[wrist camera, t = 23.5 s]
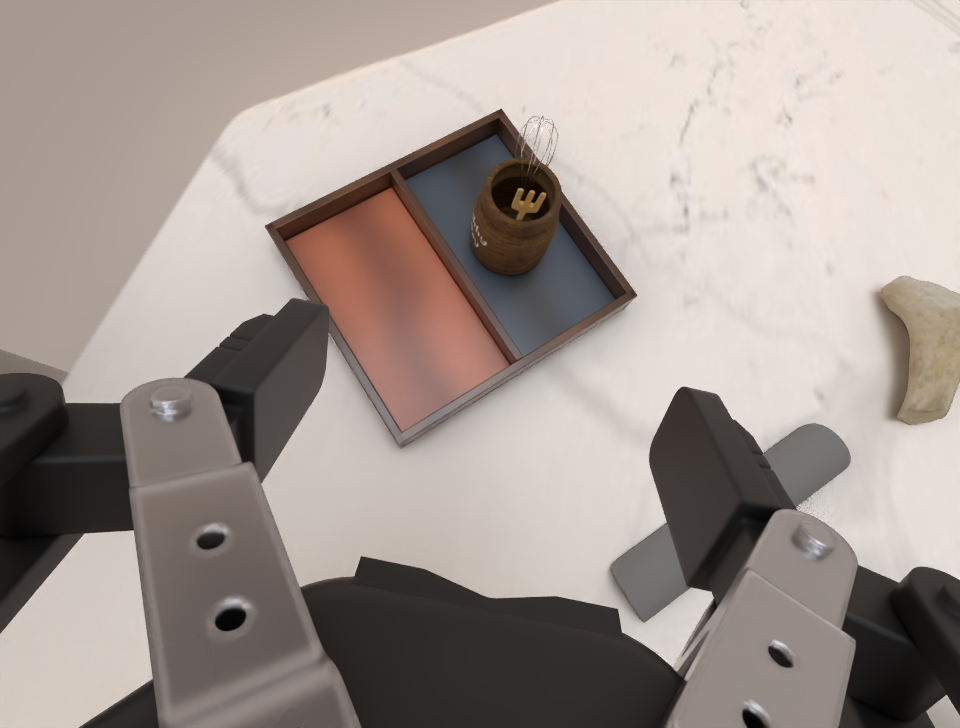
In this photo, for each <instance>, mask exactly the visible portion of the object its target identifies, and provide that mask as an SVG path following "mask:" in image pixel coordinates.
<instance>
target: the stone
mask: <svg viewBox="0 0 960 728" xmlns="http://www.w3.org/2000/svg"><path fill="white" fill-rule="evenodd" d="M881 295H882V299H883V300H884V301H885V303H886V305H887V307H888V309H890V310H891V311H892V312H893V313H894V314H896V315H897V316H899V317H900V318H901V319H902V321H903V322H904V323H905V325H906V327H907V330H908V333H909V338H910V356H909V379H908V387H907V393H906V396H905V399H904V401H903V404H902V406H901V408H900V411H899V413H898V415H897V417H896V418H897V419H899V420H902V421H903V422H906V423H908V424H919V423H926V422H931V421H934V420H937V419H942V418H943V417H945V416H946V414H947V413H948V411H949V409H950V406H951V404H952V401H953V398H954V395H955V392H956V389H957V386H958V384H959V382H960V294H958V293H956V292H953V291H950V290H949V289H947V288H945V287H942V286H940V285H938V284H934V283H931V282H926V281H919V280H916V279H913V278H911V277H909V276H901V277H898V278H896V279H895V280H893V281H892V282H890V283H889V284H887V285H886V286H885V287H884V288H883V290H882V292H881Z"/></svg>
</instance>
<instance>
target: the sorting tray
mask: <svg viewBox="0 0 960 728" xmlns="http://www.w3.org/2000/svg"><path fill="white" fill-rule="evenodd" d="M518 138H519V140H518ZM522 140H523V144H522ZM517 141H518V144H517ZM524 143H525V145H524ZM516 145H517V149H516ZM523 146H524V148H523ZM521 147H522V149H523V152H522V157H524V158H530V159H531V156H532V159H535V160H536V161H539V160H538V158H537V157H536V158H535V154H534V153H533V155H532V152H533V151H532V150H531V149H530V147H529V146H528V145H527V143H526V142H525V140H524V139H523V138H522V136H521V135H520V137H519V132H518V131H517V129H516V128H515V127H514V125H513V124H512V123H511V121H510V120H509V119H508V117H507V116H506V114H505V113H504V112H503V110H502V109H500V110H498V111H496V112H494V113H492V114H490V115H488V116H486V117H484V118H482V119H480V120H478V121H476V122H474V123H472V124H469V125H467V126H465V127H463V128H461V129H459V130H457V131H455V132H453V133H451V134H449V135H447V136H445V137H443V138H441V139H439V140H437V141H435V142H433V143H431V144H429V145H427V146H425V147H423V148H421V149H419V150H417V151H415V152H413V153H411V154H409V155H407V156H405V157H403V158H401V159H399V160H397V161H395V162H393V163H391V164H389V165H387V166H385V167H383V168H381V169H379V170H377V171H375V172H373V173H371V174H369V175H366V176H364V177H362V178H360V179H358V180H356V181H354V182H352V183H350V184H348V185H346V186H344V187H342V188H340V189H338V190H336V191H334V192H332V193H330V194H328V195H326V196H324V197H322V198H320V199H318V200H316V201H314V202H312V203H310V204H308V205H306V206H304V207H302V208H300V209H298V210H296V211H294V212H292V213H290V214H288V215H286V216H284V217H282V218H280V219H278V220H276V221H274V222H272V223H270V224H268V225H265V228H266V229H267V231H268V233H269V234H270V236H271V238H272V239H273V241H274V242H275V244H276V246H277V247H278V249H279V251H280V252H281V254H282V256H283V257H284V259H285V260H286V262H287V264H288V265H289V267H290V269H291V270H292V272H293V274H294V275H295V277H296V278H297V280H298V282H299V283H300V285H301V287H302V288H303V290H304V292H305V293H306V295H307V296H308V298H309V300H310V301H311V302H314V303H319V304H323V305H327V306H328V307H329V330H328V331H329V332H330V334H331V336H332V337H333V339H334V341H335V342H336V344H337V346H338V347H339V349H340V350H341V352H342V354H343V355H344V357H345V359H346V360H347V362H348V364H349V365H350V367H351V368H352V370H353V372H354V373H355V375H356V377H357V378H358V380H359V382H360V383H361V385H362V386H363V388H364V390H365V391H366V393H367V395H368V396H369V398H370V400H371V401H372V403H373V404H374V406H375V408H376V409H377V411H378V413H379V414H380V416H381V418H382V419H383V421H384V423H385V424H386V426H387V427H388V429H389V431H390V432H391V434H392V436H393V437H394V439H395V441H396V442H397V444H398V445H399V447H400V448H402V447H404V446H405V445H407V444H408V443H410V442H412V441H413V440H415V439H416V438H418V437H420V436H421V435H423V434H424V433H426V432H428V431H429V430H431V429H432V428H434V427H436V426H437V425H439V424H440V423H442V422H444V421H445V420H447V419H448V418H450V417H451V416H453V415H455V414H456V413H458V412H459V411H461V410H463V409H464V408H466V407H467V406H469V405H471V404H472V403H474V402H475V401H477V400H479V399H480V398H482V397H483V396H485V395H487V394H488V393H490V392H491V391H493V390H495V389H496V388H498V387H499V386H501V385H502V384H504V383H506V382H507V381H509V380H510V379H512V378H514V377H515V376H517V375H518V374H520V373H522V372H523V371H525V370H526V369H528V368H530V367H531V366H533V365H534V364H536V363H538V362H539V361H541V360H542V359H544V358H546V357H547V356H549V355H550V354H552V353H553V352H555V351H557V350H558V349H560V348H561V347H563V346H565V345H566V344H568V343H569V342H571V341H573V340H574V339H576V338H577V337H579V336H581V335H582V334H584V333H585V332H587V331H589V330H590V329H592V328H593V327H595V326H597V325H598V324H600V323H601V322H603V321H604V320H606V319H608V318H609V317H611V316H612V315H614V314H616V313H617V312H619V311H620V310H622V309H624V308H625V307H626V306H627V305H628V304H629V303H630V302H631V301H632V300H633V299H634V298H636V297H637V294H636V293H635V291H634V290H633V289H632V287H631V286H630V284H629V283H628V282H627V280H626V279H625V278H624V276H623V275H622V273H621V272H620V271H619V269H618V268H617V267H616V265H615V264H614V263H613V261H612V260H611V258H610V257H609V256H608V254H607V253H606V252H605V250H604V249H603V247H602V246H601V245H600V243H599V242H598V241H597V239H596V238H595V236H594V235H593V234H592V232H591V231H590V230H589V228H588V227H587V225H586V224H585V223H584V221H583V220H582V219H581V217H580V216H579V215H578V213H577V212H576V210H575V209H574V208H573V206H572V205H571V204H570V202H569V201H568V199H567V198H566V197H565V195H564V194H563V193H562V200H561V207H560V211H559V220H558V225H557V228H556V231H555V234H554V236H553V238H552V240H551V242H550V244H549V246H548V248H547V250H546V252H545V254H544V256H543V257H542V259H541V260H540V261H539V262H538V263H537V265H535V266H534V267H533V268H532V269H530V270H528V271H526V272H524V273H521V274H517V275H503V274H499V273H496V272H493V271H491V270H489V269H488V268H486V267H485V266H484V265H483V264H482V263H481V262H480V261H479V260H478V259H477V257H476V256H475V254H474V252H473V250H472V246H471V242H470V228H471V221H472V214H473V209H474V205H475V201H476V198H477V196H478V194H479V192H480V190H481V189H482V187H483V184H484V182H485V179H486V178H487V176H488V174H489V173H490V171H491V170H492V169H493V168H494V167H495V166H496V165H497V164H499V163H500V162H502V161H504V160H507V159H510V158H515V151H516V157H521ZM539 162H540V161H539Z"/></svg>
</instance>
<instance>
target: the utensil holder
mask: <svg viewBox="0 0 960 728" xmlns="http://www.w3.org/2000/svg"><path fill="white" fill-rule="evenodd" d="M533 117H538V116H533ZM533 117H531V118H533ZM531 118H530V119H531ZM538 118H540V117H538ZM542 118H543V120H542ZM542 118H540V119H541V120H533V121H541V122H544V123H545V122H547V121H545V120H551V121H552V122H553V120H552V119H545V120H544V115H543V116H542ZM530 119H529V120H530ZM529 120H528V122H527V124H528V123H530V122H532V121H530V122H529ZM541 122H539V123H540V124H541ZM539 123H538V124H539ZM548 123H550V122H548ZM527 124H525V125H524V126H523V128H524V127H525V126H526V127H527ZM538 124H537V125H538ZM545 124H546V123H545ZM550 124H551V123H550ZM537 125H536V126H537ZM546 125H547V124H546ZM551 125H553V129H554V128H555V129H556V127H555V126H554V122H553V124H551ZM536 126H535V127H536ZM535 127H534V128H535ZM547 127H548V125H547ZM523 128H522V129H523ZM534 128H533V129H534ZM539 128H540V125H539ZM522 129H521V131H522ZM533 129H532V130H533ZM542 129H543V124H542ZM548 129H549V127H548ZM532 130H531V131H532ZM521 131H520V134H521ZM525 131H526V128H525ZM531 131H530V133H531ZM538 131H539V129H538ZM549 131H550V129H549ZM556 131H557V129H556ZM530 133H529V134H530ZM552 133H553V130H552ZM520 134H519V137H520ZM524 134H525V132H524ZM529 134H528V136H529ZM541 134H542V130H541ZM537 135H538V132H537ZM550 135H551V137H550V140H551V149H552V134H551V132H550ZM528 136H527V137H528ZM557 136H558V132H557ZM523 139H524V135H523ZM526 139H527V138H526ZM536 139H537V136H536ZM540 139H541V135H540ZM518 140H519V138H518ZM525 142H526V140H525ZM557 142H558V137H557ZM557 142H556V145H557ZM535 143H536V140H535ZM539 143H540V140H539ZM549 143H550V141H549ZM517 144H518V141H517ZM522 144H523V140H522ZM524 145H525V143H524ZM534 146H535V144H534ZM548 146H549V144H548ZM538 147H539V144H538ZM523 148H524V146H523ZM516 149H517V145H516ZM547 149H548V147H547ZM547 149H546V151H547ZM555 149H556V146H555ZM533 151H534V148H533ZM537 151H538V148H537ZM522 152H523V149H522V147H521V157H516V151H515V158H510V159H507V160H504V161H502V162H500V163H499V164H497V165H496V166H495V167H494V168H493V169H492V170H491V171H490V173H489V174H488V176H487V178H486V179H485V182H484V184H483V187H482V189H481V190H480V192H479V194H478V196H477V198H476V201H475V205H474V209H473V214H472V221H471V228H470V242H471V246H472V250H473V252H474V254H475V256H476V257H477V259H478V260H479V261H480V262H481V263H482V264H483V265H484V266H485V267H486V268H488V269H489V270H491V271H493V272H496V273H499V274H503V275H517V274H521V273H524V272H526V271H528V270H530V269H532V268H533V267H534V266H535V265H537V263H538V262H539V261H540V260H541V259H542V257H543V256H544V254H545V252H546V250H547V248H548V246H549V244H550V242H551V240H552V238H553V236H554V234H555V231H556V228H557V225H558V220H559V211H560V207H561V200H562V191H561V186H560V183H559V181H558V179H557V177H556V176H555V174H554V173H553V172H552V171H551V170H550V169H549V168H548V167H547V166H548V165H549V163H550V162H551V160H552V158H553V156H552V158H551V160H550V162H549V163H548V161H547V163H548V165H547V164H546V166H545V165H544V164H542V163H541V162H539V161H536V160H535V159H532V156H531V159H530V158H524V157H522ZM554 152H555V150H554ZM545 153H546V152H545ZM550 153H551V150H550ZM550 153H549V156H550ZM532 155H533V152H532ZM536 155H537V152H536ZM553 155H554V153H553ZM544 156H545V154H544ZM544 156H543V158H544ZM535 158H536V156H535ZM543 158H542V159H543ZM548 160H549V157H548ZM541 161H542V160H541Z"/></svg>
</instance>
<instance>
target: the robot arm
mask: <svg viewBox="0 0 960 728" xmlns="http://www.w3.org/2000/svg"><path fill="white" fill-rule="evenodd" d="M328 330H329V307H328V306H327V305H323V304H319V303H314V302H310V301H305V300H301V299H297V298H292V299H291V300H290V301H289V302H288V303H287V304H286V305H285V306H284V307H283V308H282V309H281V310H280V311H279V312H278V313H277V314H276V315H275V316H272V315H267V314H262V315H260V316H257V317H255V318H252V319H250V320H247V321H245V322H243V323H242V324H241V325H240V326H239V327H238V328H236V329H235V330H234V331H233V332H232V333H231V334H230V337H227V338H226V339H225V340H224V341H222V342H221V343H220V346H219V347H216V348H215V349H214V350H213V351H212V352H211V353H210V354H208V355H207V356H206V357H205V358H204V359H203V360H202V361H201V362H200V363H199V364H198V365H197V366H196V367H194V368H193V369H192V370H191V371H190V372H189V373H188V374H187V375H186V376H185V377H184V378H167V379H160V380H156V381H152V382H148V383H146V384H143V385H141V386H139V387H137V388H135V389H133V390H132V391H130V392H129V393H128V394H127V395H126V396H125V397H124V398H123V400H122V401H121V403H113V404H109V403H66V402H65V398H64V394H63V389H62V387H61V385H60V384H59V383H58V382H57V381H55V380H54V379H52V378H49V377H47V376H43V375H38V374H31V373H11V374H2V375H0V633H1V632H2V631H3V630H4V629H5V627H6V626H7V625H8V624H9V623H10V621H11V620H12V619H13V618H14V617H15V615H16V614H17V613H18V612H19V611H20V609H21V608H22V607H23V606H24V605H25V604H26V602H27V601H28V600H29V599H30V598H31V596H32V595H33V594H34V593H35V592H36V590H37V589H38V588H39V587H40V586H41V584H42V583H43V582H44V581H45V580H46V578H47V577H48V576H49V575H50V574H51V573H52V571H53V570H54V569H55V568H56V567H57V565H58V564H59V563H60V562H61V561H62V559H63V558H64V557H65V556H66V555H67V553H68V552H69V551H70V550H71V549H72V548H73V546H74V545H75V544H76V543H77V542H78V540H79V539H80V538H81V537H82V536H83V534H84V533H98V532H114V531H131V530H134V534H135V542H136V550H137V558H138V565H139V573H140V581H141V589H142V597H143V604H144V612H145V620H146V628H147V636H148V643H149V651H150V659H151V667H152V675H153V679H152V680H151V681H149V682H148V683H146V684H144V685H143V686H141V687H140V688H138V689H137V690H135V691H134V692H132V693H131V694H129V695H128V696H126V697H125V698H123V699H122V700H120V701H118V702H117V703H115V704H114V705H112V706H111V707H109V708H108V709H106V710H105V711H103V712H102V713H100V714H99V715H97V716H96V717H94V718H93V719H91V720H89V721H88V722H86V723H85V724H83V725H82V726H80V727H79V728H838V726H839V724H840V727H841V728H935V727H934V725H933V723H932V722H931V720H930V718H929V716H928V715H927V713H926V710H928V709H929V708H930V707H931V706H933V705H934V704H935V703H936V702H938V701H939V700H940V699H941V698H943V697H944V696H945V695H946V694H947V695H948V697H949V699H950V700H951V702H952V704H953V705H954V707H955V708H956V710H957V712H958V713H959V715H960V580H958V579H957V578H955V577H953V576H951V575H949V574H947V573H944V572H942V571H939V570H936V569H933V568H928V567H916V568H914V569H912V570H911V571H910V572H909V574H908V575H907V576H906V577H905V578H904V579H903V580H902V581H901V582H900V583H898V582H896V581H894V580H891V579H889V578H887V577H884V576H882V575H880V574H878V573H875V572H873V571H871V570H869V569H866V568H864V567H862V566H859V565H858V561H857V557H856V555H855V553H854V551H853V550H852V548H851V546H850V545H849V544H848V543H847V541H846V540H845V539H844V538H843V537H842V536H841V535H840V534H838V533H837V532H836V531H835V530H834V529H832V528H831V527H830V526H828V525H827V524H825V523H824V522H822V521H821V520H819V519H817V518H815V517H813V516H811V515H809V514H806V513H803V512H801V511H797V509H796V507H795V506H794V504H793V502H792V501H791V499H790V497H789V496H788V494H787V492H786V491H785V489H784V487H783V486H782V484H781V482H780V481H779V479H778V477H777V476H776V474H775V472H774V471H773V470H771V466H770V464H769V462H768V461H767V459H766V457H765V456H762V454H763V452H762V451H761V449H760V447H759V446H758V444H757V442H756V441H755V439H754V438H753V436H752V435H751V434H750V433H749V432H748V431H746V430H745V429H744V428H743V427H742V426H741V425H740V424H739V423H738V422H737V421H736V420H733V419H732V418H731V416H730V415H729V413H728V411H727V409H726V408H725V406H724V404H723V402H722V401H721V399H720V397H719V396H718V395H717V394H715V393H710V392H706V391H701V390H697V389H692V388H688V387H681V388H680V389H679V390H678V391H677V392H676V394H675V395H674V397H673V399H672V401H671V403H670V406H669V408H668V410H667V412H666V414H665V416H664V418H663V420H662V422H661V424H660V426H659V428H658V430H657V432H656V434H655V436H654V438H653V441H652V444H651V447H650V454H649V463H650V468H651V471H652V475H653V478H654V481H655V484H656V488H657V491H658V494H659V498H660V501H661V504H662V507H663V511H664V514H665V517H666V521H667V524H668V527H669V530H670V534H671V537H672V540H673V543H674V547H675V550H676V553H677V557H678V560H679V563H680V566H681V570H682V573H683V576H684V580H685V583H686V586H687V587H692V588H697V589H702V590H706V591H711V592H712V594H713V597H714V599H713V600H712V602H711V603H710V605H709V606H708V608H707V609H706V611H705V612H704V614H703V616H702V617H701V619H700V621H699V623H698V624H697V626H696V628H695V630H694V631H693V633H692V635H691V637H690V638H689V640H688V642H687V644H686V645H685V647H684V649H683V650H682V652H681V654H680V656H679V657H678V659H677V661H676V663H675V664H674V666H673V668H672V667H671V666H670V665H669V664H668V663H667V662H666V661H664V660H663V659H662V658H661V657H660V656H659V655H657V654H656V653H655V652H653V651H652V650H650V649H649V648H648V647H646V646H645V645H643V644H642V643H640V642H638V641H637V640H635V639H633V638H631V637H630V636H628V635H626V634H624V633H622V631H621V625H620V619H619V613H618V609H615V608H610V607H605V606H600V605H595V604H591V603H586V602H581V601H576V600H571V599H566V598H561V597H557V596H551V597H525V598H498V599H496V598H488V597H485V596H482V595H480V594H478V593H476V592H474V591H472V590H469V589H467V588H465V587H463V586H461V585H458V584H456V583H454V582H452V581H450V580H447V579H445V578H443V577H441V576H439V575H436V574H434V573H432V572H430V571H428V570H425V569H421V568H416V567H411V566H406V565H401V564H397V563H392V562H387V561H382V560H377V559H372V558H367V557H363V556H361V558H360V561H359V564H358V567H357V570H356V573H355V576H354V577H340V578H333V579H326V580H322V581H319V582H315V583H311V584H308V585H305V586H303V587H299V584H298V582H297V579H296V576H295V574H294V571H293V568H292V566H291V563H290V560H289V558H288V555H287V552H286V550H285V547H284V544H283V542H282V539H281V536H280V534H279V531H278V528H277V525H276V523H275V520H274V517H273V515H272V512H271V509H270V507H269V504H268V501H267V499H266V496H265V493H264V491H263V488H262V485H261V483H262V482H263V480H264V479H265V477H266V475H267V474H268V472H269V471H270V469H271V467H272V466H273V464H274V463H275V461H276V459H277V458H278V456H279V455H280V453H281V451H282V450H283V448H284V447H285V445H286V443H287V442H288V440H289V439H290V437H291V435H292V434H293V432H294V431H295V429H296V427H297V426H298V424H299V423H300V421H301V419H302V418H303V416H304V415H305V413H306V411H307V410H308V408H309V407H310V405H311V403H312V402H313V400H314V399H315V397H316V395H317V394H318V392H319V390H320V388H321V385H322V382H323V378H324V374H325V369H326V357H327V344H328Z"/></svg>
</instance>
